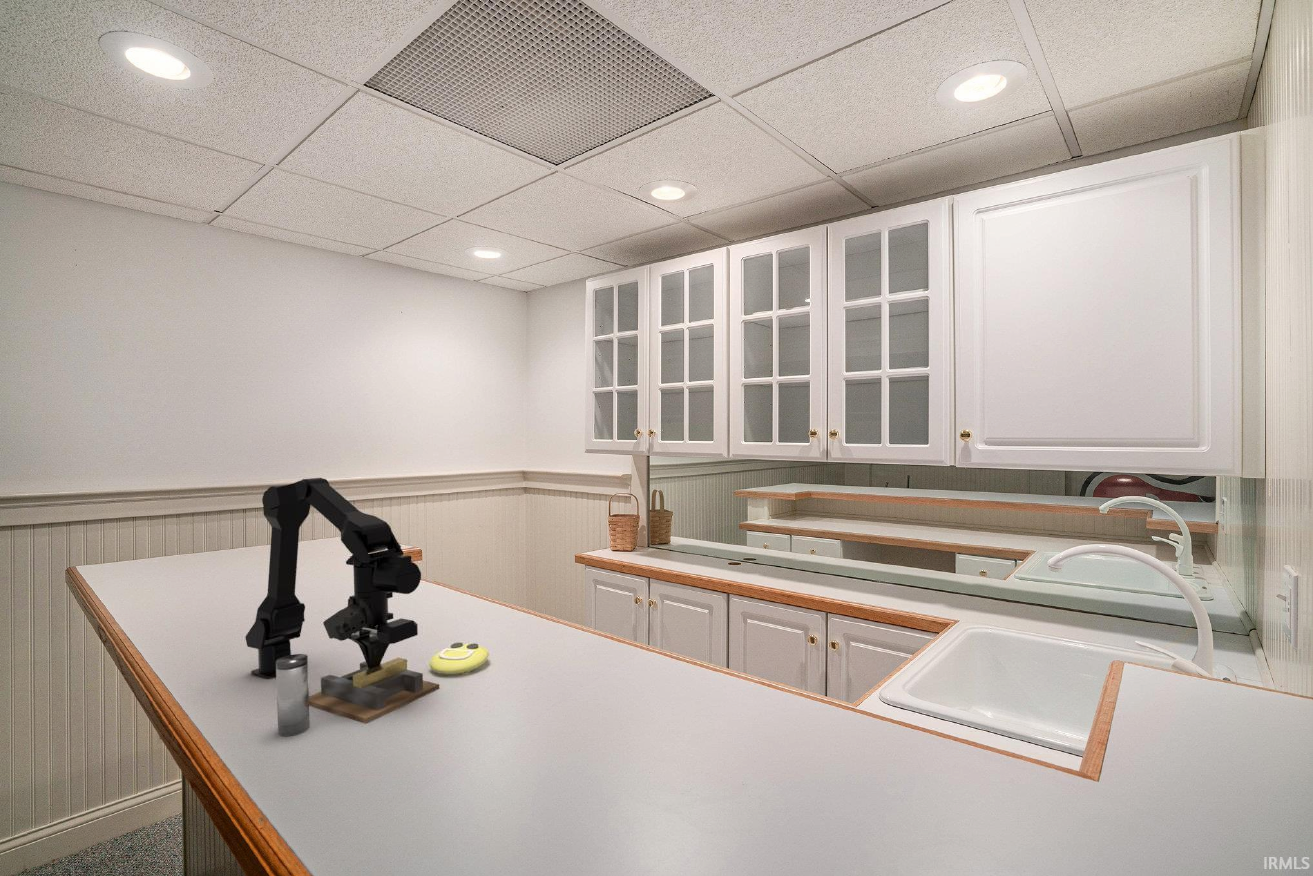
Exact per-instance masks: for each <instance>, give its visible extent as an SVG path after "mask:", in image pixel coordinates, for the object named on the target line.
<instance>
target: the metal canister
mask: <svg viewBox="0 0 1313 876" xmlns="http://www.w3.org/2000/svg"><path fill="white" fill-rule="evenodd" d="M308 657H309V655H308V654H305V653H295V654H291V655H288V656H285V657H282V658H279V659H278V660H277V661H276V676H275V679H276V705H277V707H276V709H277V710H276V711H277V714H276V715H277V734H278V736H280V737H293V736H297V735H301V734H302V733H305V732H306V731H308V730H309V729H310V728H311V727H310V726H311V724H310V721H311V720H310V705H309V696H310V693H309V690H310V689H309V658H308Z"/></svg>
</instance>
